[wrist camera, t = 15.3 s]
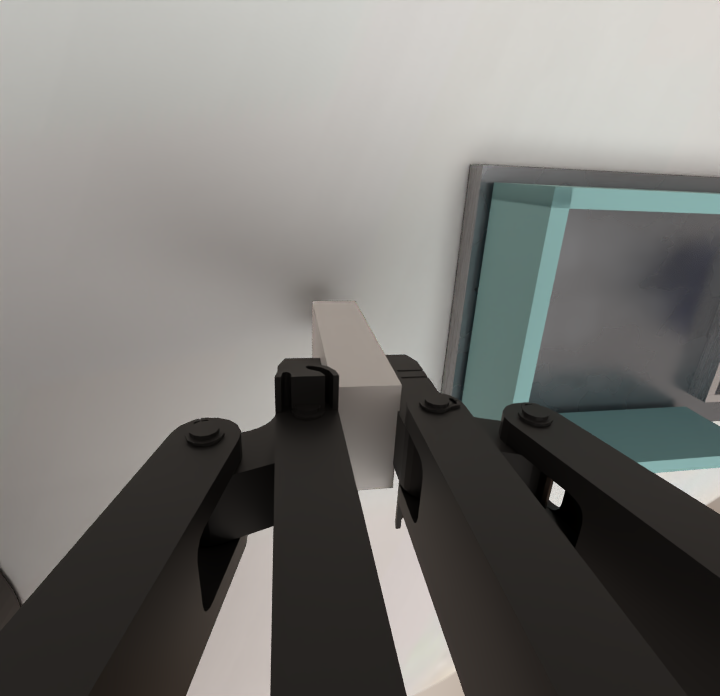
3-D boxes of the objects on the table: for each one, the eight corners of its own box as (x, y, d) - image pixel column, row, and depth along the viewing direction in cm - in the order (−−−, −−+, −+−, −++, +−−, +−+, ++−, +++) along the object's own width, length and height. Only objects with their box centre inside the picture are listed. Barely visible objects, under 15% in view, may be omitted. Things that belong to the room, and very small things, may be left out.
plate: (437, 424, 22) (453, 449, 20) (470, 164, 18) (495, 164, 16) (793, 404, 26) (837, 424, 24) (894, 187, 22) (957, 189, 20)
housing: (457, 429, 21) (496, 486, 17) (493, 182, 17) (555, 186, 13) (681, 416, 23) (759, 464, 19) (761, 195, 19) (878, 201, 15)
